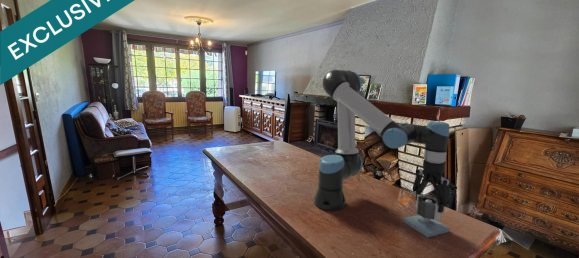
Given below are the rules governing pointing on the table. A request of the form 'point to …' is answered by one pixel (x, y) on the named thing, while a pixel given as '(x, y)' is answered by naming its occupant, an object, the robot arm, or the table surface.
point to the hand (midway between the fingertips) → (427, 213)
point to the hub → (426, 207)
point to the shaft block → (426, 225)
